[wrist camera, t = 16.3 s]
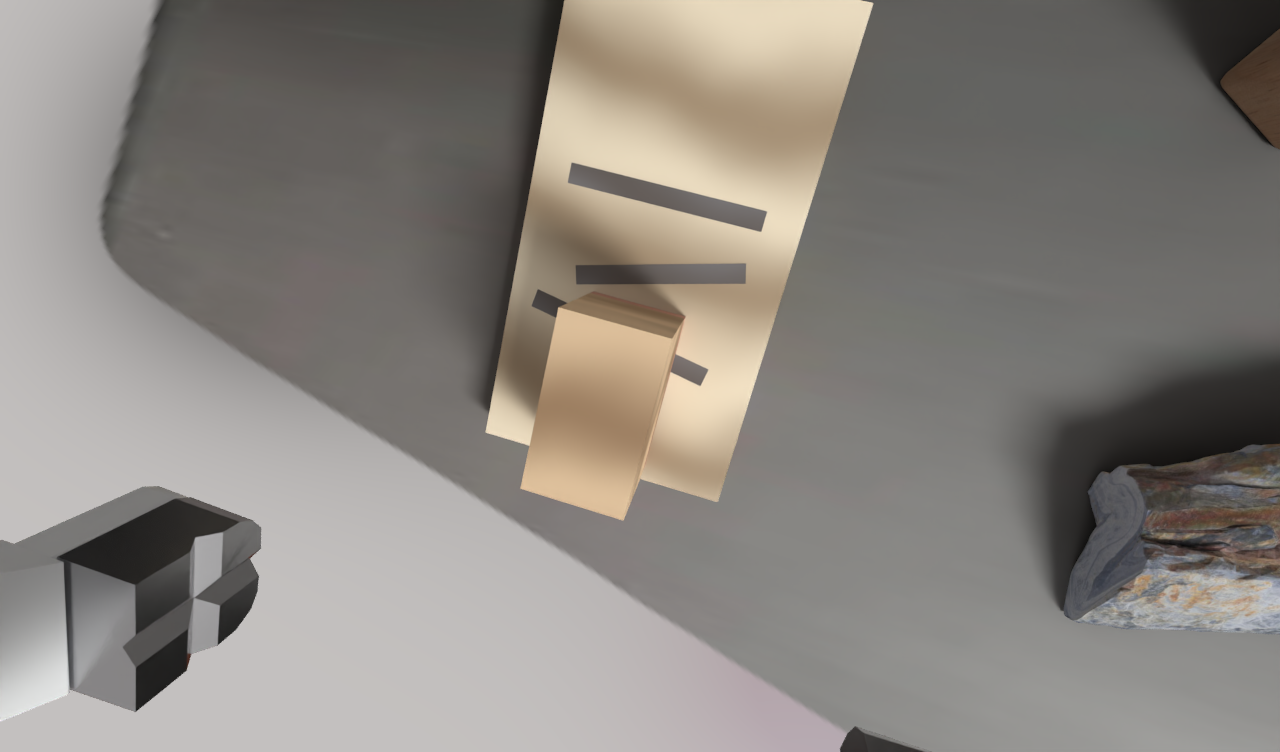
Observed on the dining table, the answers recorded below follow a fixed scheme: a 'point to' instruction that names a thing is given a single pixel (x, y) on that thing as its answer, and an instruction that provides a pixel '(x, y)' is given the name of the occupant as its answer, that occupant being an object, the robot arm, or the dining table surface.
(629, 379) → the block
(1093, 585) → the stone
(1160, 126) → the dining table surface
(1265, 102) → the stacked wooden blocks
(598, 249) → the board
